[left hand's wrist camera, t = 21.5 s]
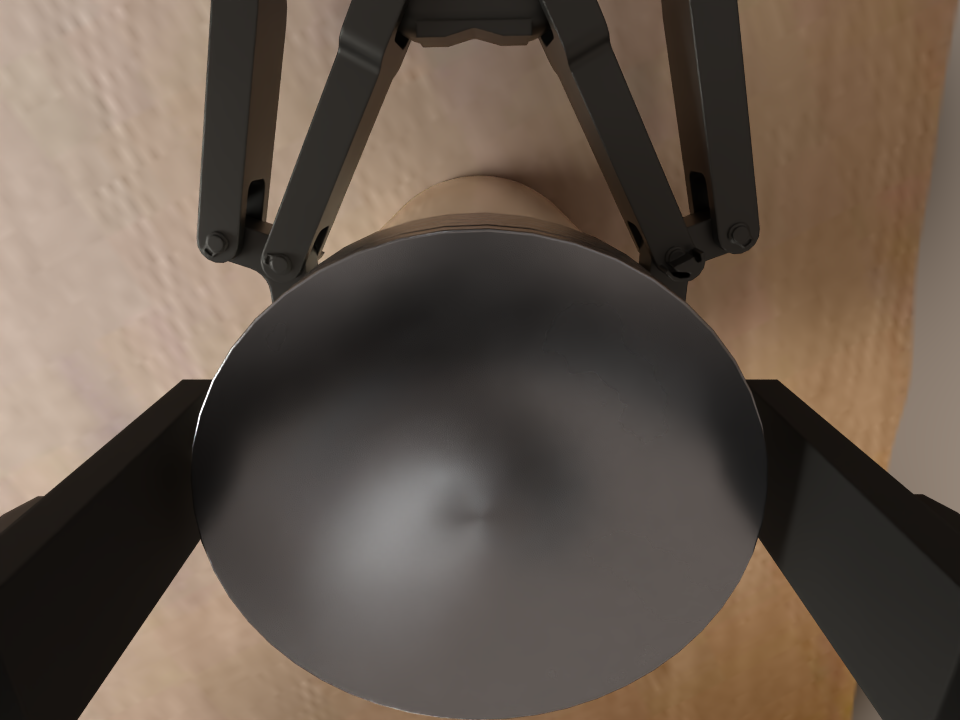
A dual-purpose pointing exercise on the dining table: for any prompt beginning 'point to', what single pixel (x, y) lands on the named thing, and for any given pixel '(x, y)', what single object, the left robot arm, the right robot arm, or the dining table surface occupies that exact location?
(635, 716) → the dining table surface
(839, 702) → the dining table surface
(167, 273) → the dining table surface
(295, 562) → the lid
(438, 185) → the jar
